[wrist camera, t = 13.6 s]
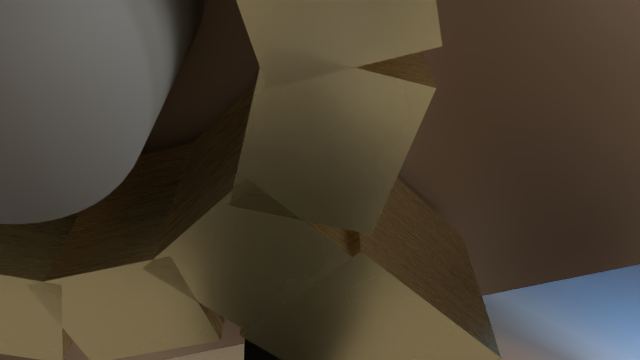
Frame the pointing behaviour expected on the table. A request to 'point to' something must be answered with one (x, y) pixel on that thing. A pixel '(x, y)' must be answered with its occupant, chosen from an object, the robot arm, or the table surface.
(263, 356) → the robot arm
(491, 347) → the tan bumpy ring
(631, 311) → the table surface
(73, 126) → the board
